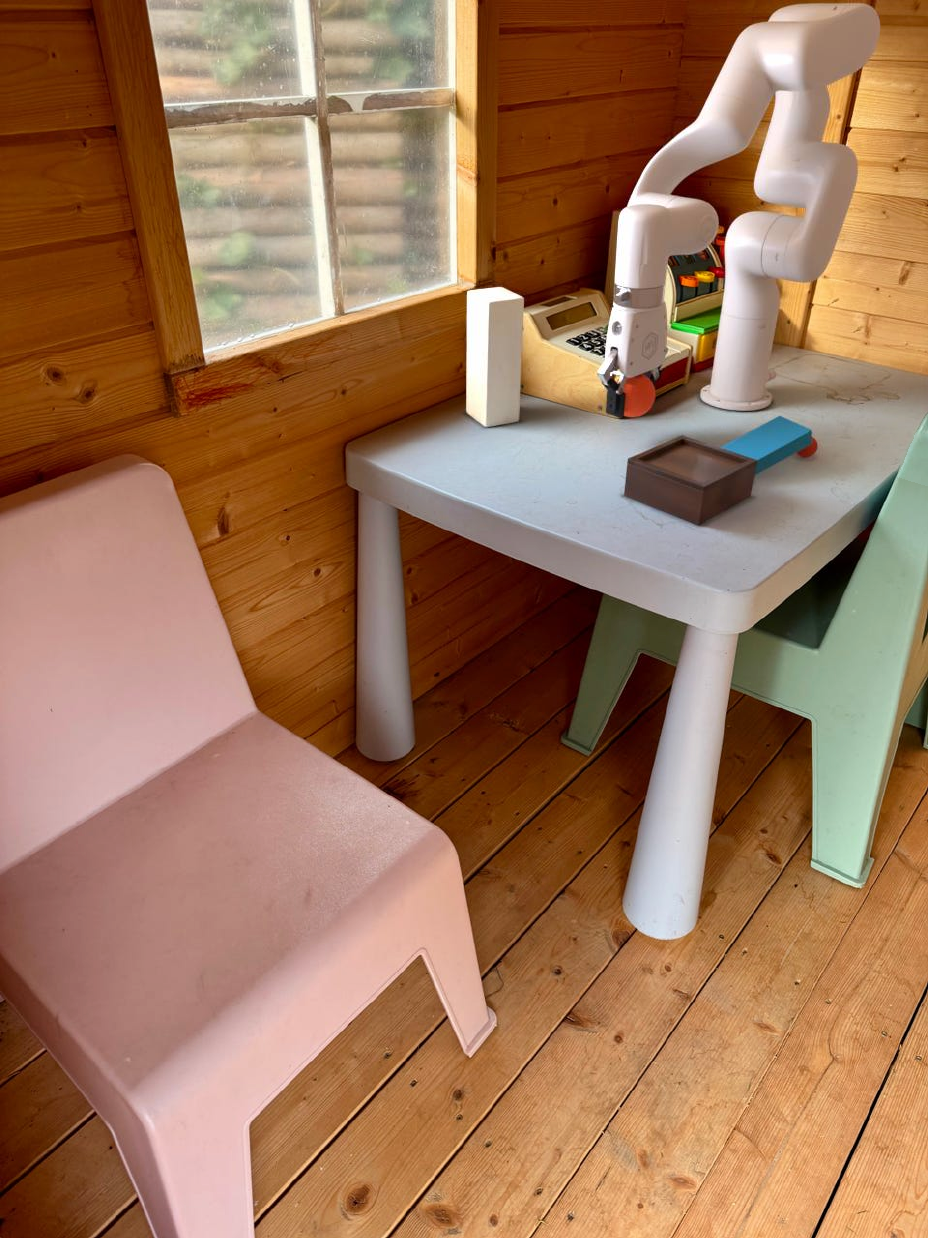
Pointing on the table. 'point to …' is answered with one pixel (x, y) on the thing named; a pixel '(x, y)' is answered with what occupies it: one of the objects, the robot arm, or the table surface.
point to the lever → (774, 443)
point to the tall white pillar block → (494, 355)
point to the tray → (690, 479)
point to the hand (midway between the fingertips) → (630, 407)
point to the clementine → (638, 395)
